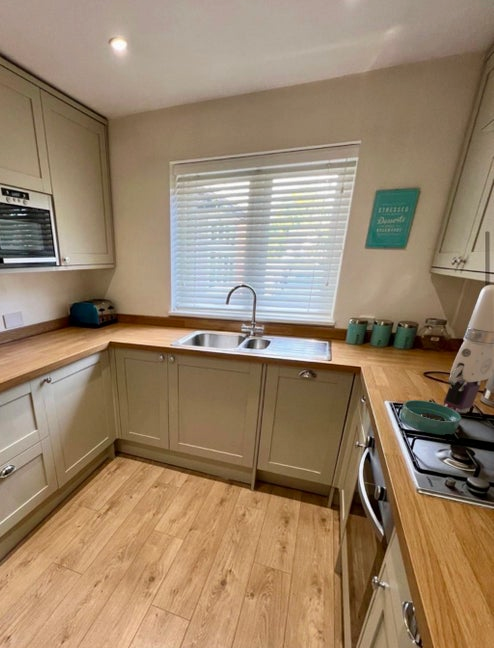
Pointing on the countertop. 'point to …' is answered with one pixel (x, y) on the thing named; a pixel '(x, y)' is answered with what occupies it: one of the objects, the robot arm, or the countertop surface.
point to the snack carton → (466, 396)
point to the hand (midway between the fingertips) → (458, 401)
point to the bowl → (414, 419)
